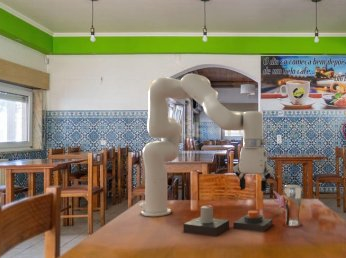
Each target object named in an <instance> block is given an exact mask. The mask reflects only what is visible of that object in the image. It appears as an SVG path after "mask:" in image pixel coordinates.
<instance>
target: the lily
mask: <svg viewBox="0 0 346 258" xmlns="http://www.w3.org/2000/svg"><path fill="white" fill-rule="evenodd" d="M273 193H274V194H275V196H276V199H274V202H275V203H277V204H278V205H279V206H278V209H276V214H275V216H277V215H278V212H279V210H280V208H282V209H283V211H284V212H285V209H284V203H283V194H281V195H280V194H279V193H278V192H277V191H275V190H273Z"/></svg>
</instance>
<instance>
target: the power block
mask: <svg viewBox="0 0 346 258" xmlns="http://www.w3.org/2000/svg"><path fill="white" fill-rule="evenodd" d="M272 226H273V219H272V218H266V217H265V218H264V216H263V215H262V214H259V217H256V218H251V217H248V213H247V214H245V215H243V216H242V217H240V218H239V219H237V220H235V221H234V222H233V229H237V230H246V231H254V232H263V233H264V232H266V231H267V230H268V229H269V228H270V227H272Z"/></svg>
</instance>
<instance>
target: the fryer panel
mask: <svg viewBox="0 0 346 258" xmlns="http://www.w3.org/2000/svg"><path fill="white" fill-rule="evenodd" d="M228 229H230V220H229V219H224V218H223V219H222V218H214V217H213V222H212V223H201V216H198V217H196V218H193V219H190V220H189V221H186V222H184V223H183V233H188V234H196V235H201V236H202V235H203V236H211V237H217V236H219V235H220V234H222V233H224V232H226V231H227V230H228Z"/></svg>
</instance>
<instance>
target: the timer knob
mask: <svg viewBox="0 0 346 258" xmlns="http://www.w3.org/2000/svg"><path fill="white" fill-rule="evenodd" d="M200 217H201V223H212V222H213V218H214V206H212V205H202V206H200Z"/></svg>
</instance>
